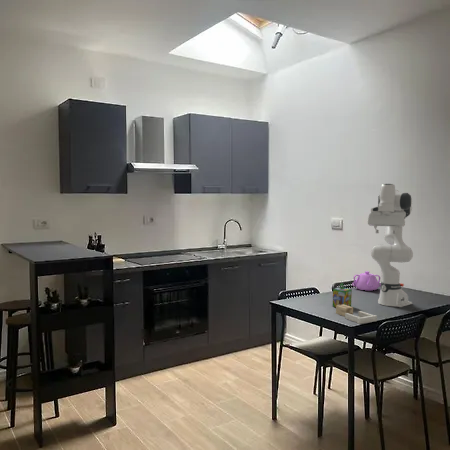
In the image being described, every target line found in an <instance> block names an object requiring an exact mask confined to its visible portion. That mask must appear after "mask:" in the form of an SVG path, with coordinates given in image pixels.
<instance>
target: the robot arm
mask: <svg viewBox="0 0 450 450" xmlns="http://www.w3.org/2000/svg"><path fill="white" fill-rule="evenodd" d="M377 198H378V201H377V206H375V207H371V208H370V213H369V215H368V217H367V225H368V226H371V227H374V229H375V234H379V233H380V232H379V231H380V230H379V229H377V227H384V236H383V238H384V240H385V242H386V244H377V245H373V247H372V248H371V251H370V255H371V258H372V259H373V260H374V261H375V262H376V263H377V264H378V266H379V268H380V270H381V271H380V273H381V281H380V283H381V286H380V289H379V295H378V296H379V298H378V299H377V303H378V304H379V305H382V306H387V307H396V308H398V307H399V308H403V307H407V306H410V305H413V302H412V301H409V295H408V293H406V292H405V291H404V290H403V289H402V287H404V286H405V284H404V283H402V282H401V283H400V275H401V273H400V270H399V269H397V268H396V267H394V266H392V265H391V263H403V264H404V263H408V262H411V260H412V259H413V257H414V252H413V250H412V248H411V247H409V246H408V245H407V244H406V243H405V242H404V240H403V227H404V226H405V225H406V220H405V219H406V218H408V217H409V216H410V215H411V213H412V211H413V210H412V209H413V207H412V205H413V197H412V195H411V194H410V193H409V192H402V191H401V192H400V191H399V190H397V189H396V185H395V184H393V183H382V184H381V185H380V191H379V194H378V197H377Z"/></svg>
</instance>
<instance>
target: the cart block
mask: <svg viewBox="0 0 450 450" xmlns="http://www.w3.org/2000/svg"><path fill="white" fill-rule="evenodd" d="M345 313H349V314H352V315H354V307H353V306H351V307H350V306H347V305H336V307H335V314H337V315H340V316H343V317H345Z"/></svg>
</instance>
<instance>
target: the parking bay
mask: <svg viewBox="0 0 450 450" xmlns="http://www.w3.org/2000/svg"><path fill="white" fill-rule="evenodd" d="M357 315H358V316H357ZM357 315H354V314H353V315H352V314H349V313H345V316H344V319H346V320H347V321H348V320H349V321H352V322H354V323H357V324H359V325H360V324H367V323H372V322H377V321H378V315H376V314H375V315H374V314H371V313H367V312H365V311H361V310H358V314H357Z"/></svg>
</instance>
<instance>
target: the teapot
mask: <svg viewBox="0 0 450 450" xmlns="http://www.w3.org/2000/svg"><path fill="white" fill-rule="evenodd" d="M356 277H357V278H356ZM377 277H378V278H377ZM351 285H352V286H353V287H355V288H356V289H357V290H361V291H363V290H365V291H369V292H370V291H371V292H372V291H373V290H374V291H376V290H377V289H379V288H381V276H380V275H378V274H373V273H370V271H364V272H362V273H359V274H354V276H353V282H352V283H351ZM374 291H373V292H374Z"/></svg>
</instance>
